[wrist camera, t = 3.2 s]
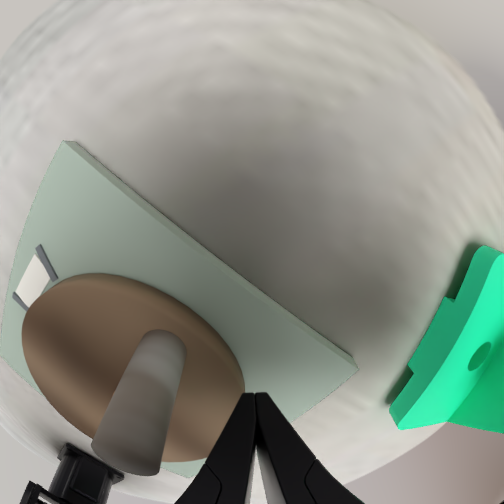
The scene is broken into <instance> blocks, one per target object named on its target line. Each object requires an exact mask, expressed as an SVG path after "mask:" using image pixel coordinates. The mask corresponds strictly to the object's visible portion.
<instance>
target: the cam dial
mask: <svg viewBox="0 0 504 504" xmlns="http://www.w3.org/2000/svg"><path fill="white" fill-rule="evenodd" d="M21 336H22V347H23V353H24V357H25V360H26V363H27V366H28V368H29V371H30V373H31V375H32V377H33V379H34V381H35V383H36V384H37V386H38V387H39V389H40V390H41V392H42V393H43V395H44V396H45V397H46V399H47V400H48V401H49V402H50V404H51V405H52V406H53V407H54V408H55V409H56V410H57V411H58V412H59V413H60V414H61V415H62V416H63V417H64V418H65V419H66V420H67V421H68V422H70V423H71V424H72V425H73V426H75V427H76V428H77V429H78V430H80V431H81V432H83V433H84V434H86V435H87V436H89V437H90V438H92V439H93V441H92V443H91V447H92V449H93V451H94V452H95V454H96V455H97V456H98V457H100V458H101V459H102V460H103V461H105V462H106V463H108V464H109V465H111V466H113V467H115V468H117V469H119V470H122V471H124V472H127V473H131V474H135V475H140V476H153V475H156V474H158V473H159V470H160V465H161V462H189V461H195V460H200V459H204V458H207V457H208V455H209V454H210V452H211V450H212V448H213V447H214V445H215V443H216V441H217V439H218V438H219V436H220V434H221V432H222V430H223V428H224V427H225V425H226V423H227V421H228V419H229V417H230V415H231V413H232V412H233V410H234V408H235V406H236V404H237V402H238V400H239V398H240V396H241V394H242V393H244V392H245V382H244V378H243V374H242V370H241V368H240V366H239V363H238V361H237V359H236V357H235V355H234V354H233V352H232V351H231V349H230V347H229V346H228V344H227V343H226V342H225V341H224V340H223V338H222V337H221V336H220V335H219V333H218V332H217V331H216V330H215V329H214V328H213V327H212V326H211V325H210V324H209V323H207V322H206V321H205V320H204V319H203V318H202V317H201V316H199V315H198V314H197V313H196V312H194V311H193V310H192V309H191V308H189V307H188V306H186V305H185V304H183V303H181V302H180V301H178V300H177V299H175V298H174V297H172V296H170V295H168V294H166V293H164V292H162V291H160V290H158V289H157V288H155V287H152V286H149V285H147V284H144V283H142V282H139V281H137V280H133V279H129V278H126V277H122V276H117V275H110V274H104V273H87V274H81V275H75V276H72V277H69V278H67V279H64V280H62V281H61V282H59V283H57V284H56V285H54V286H53V287H51V288H50V289H49V290H47V291H46V292H45V293H43V294H42V295H41V296H40V297H38V298H37V299H36V300H35V301H34V302H33V303H32V304H31V305H30V307H29V309H28V311H27V312H26V314H25V317H24V320H23V324H22V332H21Z"/></svg>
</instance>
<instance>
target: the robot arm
mask: <svg viewBox="0 0 504 504" xmlns="http://www.w3.org/2000/svg"><path fill="white" fill-rule="evenodd" d="M256 449H257V455H258V460H259V465H260V470H261V475H262V480H263V484H264V489H265V494H266V498H267V503H268V504H365V503H363V502H362V501H361V500H360V499H358V498H357V497H356V496H355V495H353V494H352V493H351V492H350V491H349V490H347V489H346V488H345V487H344V486H343V485H342V484H341V483H339V482H338V481H337V480H336V479H335V478H334V477H333V476H332V475H331V474H330V473H329V472H328V471H327V469H326V468H325V467H324V466H323V465H322V464H321V462H320V461H319V460H318V459H316V456H315V455H314V454H313V453H312V451H311V450H310V449H309V448H308V446H307V445H306V444H305V443H304V441H303V440H302V439H301V437H300V436H299V435H298V433H297V432H296V431H295V430H294V428H293V427H292V426H291V424H290V423H289V422H288V420H287V419H286V418H285V416H284V415H283V414H282V412H281V411H280V409H279V408H278V407H277V405H276V404H275V403H274V401H273V400H272V398H271V397H270V396H269V394H268V393H267V392H256V393H255V394H254V393H253V392H244V393H242V394H241V396H240V398H239V400H238V402H237V404H236V406H235V408H234V410H233V412H232V413H231V415H230V417H229V419H228V421H227V423H226V425H225V427H224V428H223V430H222V432H221V434H220V436H219V438H218V439H217V441H216V443H215V445H214V447H213V448H212V450H211V452H210V454H209V455H208V457H207V459H206V461H205V464H203V466H202V467H201V469H200V471H199V472H198V474H197V475H196V477H195V478H194V480H193V482H192V483H191V484H190V486H189V487H188V488H187V489H186V491H185V492H184V493H183V494H182V495H181V497H180V498H179V499H178V500H177V501H176V502H175V503H174V504H250V497H251V488H252V480H253V471H254V462H255V451H256ZM57 458H58V459H59V460H60V461H61V462H60V464H59V466H58V469H57V471H56V474H55V476H54V478H53V480H52V483H51V485H50V488H49V490H48V491H47V490H45V489H44V488H42V486H40V485H39V484H35V483H33V482H31V481H29V483H28V485H27V487H26V490H25V492H24V494H23V497H22V499H21V502H20V504H47V503H45V502H43V501H41V500H39V499H38V497H39V496H41V497H42V498H44V499H45V500H47V501H48V502H50V503H52V504H106V503H107V499H108V495H109V492H110V489H111V486H112V485H113V484H115V483H117V482H120V481H122V480H124V475H122V474H121V473H119V472H117V471H115V470H113V469H111V468H109V467H107V466H105V465H103V464H101V463H99V462H98V461H96V460H94V459H92V458H91V457H89V456H87V455H86V454H84V453H82V452H81V451H79V450H77V449H76V448H74V447H73V446H71V445H69V444H67V443H66V444H65V446H64V447H63V449H62V450H61V452H60V454H59V455H58V457H57ZM500 504H504V500H503V501H502V502H501V503H500Z"/></svg>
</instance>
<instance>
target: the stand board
mask: <svg viewBox="0 0 504 504" xmlns="http://www.w3.org/2000/svg"><path fill="white" fill-rule="evenodd" d="M87 273H104V274H110V275H117V276H122V277H126V278H129V279H133V280H137V281H139V282H142V283H144V284H147V285H149V286H152V287H155V288H157V289H158V290H160V291H162V292H164V293H166V294H168V295H170V296H172V297H174V298H175V299H177V300H178V301H180V302H181V303H183V304H185V305H186V306H188V307H189V308H191V309H192V310H193V311H194V312H196V313H197V314H198V315H199V316H201V317H202V318H203V319H204V320H205V321H206V322H207V323H209V324H210V325H211V326H212V327H213V328H214V329H215V330H216V331H217V332H218V333H219V335H220V336H221V337H222V338H223V340H224V341H225V342H226V343H227V344H228V346H229V347H230V349H231V351H232V352H233V354H234V355H235V357H236V359H237V361H238V363H239V366H240V368H241V370H242V374H243V378H244V382H245V392H253V393H254V394H255V393H256V392H267V393H268V394H269V396H270V397H271V398H272V400H273V401H274V403H275V404H276V405H277V407H278V408H279V409H280V411H281V412H282V414H283V415H284V416H285V418H286V419H287V420H288V422H289V423H291V422H292V421H294V420H295V419H297V418H298V417H299V416H301V415H302V414H304V413H305V412H307V411H308V410H309V409H311V408H312V407H313V406H315V405H316V404H317V403H319V402H320V401H321V400H323V399H324V398H325V397H327V396H328V395H329V394H330V393H332V392H333V391H334V390H335V389H337V388H338V387H339V386H340V385H342V384H343V383H344V382H345V381H346V380H348V379H349V378H350V377H351V376H352V375H353V374H355V373H356V372H357V371H358V370H359V368H358V366H357V364H356V363H355V361H354V359H353V358H352V357H351V356H350V355H348V354H347V353H345V352H344V351H343V350H341V349H340V348H338V347H337V346H336V345H334V344H333V343H331V342H330V341H329V340H327V339H326V338H324V337H323V336H322V335H320V334H319V333H317V332H316V331H315V330H313V329H312V328H311V327H309V326H308V325H306V324H305V323H304V322H302V321H301V320H300V319H298V318H297V317H295V316H294V315H293V314H291V313H290V312H289V311H287V310H286V309H285V308H283V307H282V306H281V305H279V304H278V303H277V302H275V301H274V300H272V299H271V298H270V297H268V296H267V295H266V294H264V293H263V292H262V291H260V290H259V289H258V288H256V287H255V286H254V285H253V284H251V283H250V282H249V281H247V280H246V279H245V278H243V277H242V276H241V275H239V274H238V273H237V272H235V271H234V270H233V269H231V268H230V267H229V266H228V265H226V264H225V263H224V262H222V261H221V260H220V259H219V258H217V257H216V256H215V255H213V254H212V253H211V252H209V251H208V250H207V249H206V248H204V247H203V246H202V245H201V244H199V243H198V242H197V241H195V240H194V239H193V238H192V237H190V236H189V235H188V234H187V233H185V232H184V231H183V230H181V229H180V228H179V227H178V226H176V225H175V224H174V223H173V222H171V221H170V220H169V219H168V218H166V217H165V216H164V215H163V214H161V213H160V212H159V211H158V210H156V209H155V208H154V207H153V206H152V205H150V204H149V203H148V202H147V201H145V200H144V199H143V198H142V197H140V196H139V195H138V194H137V193H136V192H134V191H133V190H132V189H131V188H129V187H128V186H127V185H126V184H125V183H123V182H122V181H121V180H120V179H119V178H117V177H116V176H115V175H114V174H113V173H111V172H110V171H109V170H108V169H107V168H105V167H104V166H103V165H102V164H101V163H99V162H98V161H97V160H96V159H95V158H94V157H92V156H91V155H90V154H89V153H88V152H87V151H85V150H84V149H83V148H82V147H81V146H80V145H78V144H77V143H76V142H73V141H62V143H61V144H60V146H59V148H58V150H57V152H56V154H55V156H54V158H53V160H52V161H51V163H50V165H49V168H48V170H47V172H46V174H45V176H44V178H43V180H42V183H41V185H40V187H39V189H38V192H37V194H36V196H35V199H34V201H33V204H32V206H31V209H30V212H29V214H28V217H27V220H26V223H25V226H24V229H23V232H22V235H21V238H20V241H19V245H18V248H17V251H16V255H15V259H14V263H13V267H12V271H11V275H10V279H9V284H8V289H7V294H6V300H5V306H4V312H3V320H2V328H1V338H0V356H1V357H2V358H3V359H4V360H5V361H6V362H7V363H8V364H9V365H10V366H11V367H12V368H13V369H14V370H15V371H16V372H17V373H18V374H19V375H20V376H21V377H22V378H23V379H24V380H25V381H26V382H27V383H28V384H30V385H31V386H32V387H33V388H34V389H35V390H36V391H38V392H39V393H40V394H41V395H42V396H44V395H43V393H42V392H41V390H40V389H39V387H38V386H37V384H36V383H35V381H34V379H33V377H32V375H31V373H30V371H29V368H28V366H27V363H26V360H25V357H24V353H23V347H22V336H21V332H22V324H23V320H24V317H25V314H26V312H27V311H28V309H29V307H30V305H31V304H32V303H33V302H34V301H35V300H36V299H37V298H38V297H40V296H41V295H42V294H43V293H45V292H46V291H47V290H49V289H50V288H51V287H53V286H54V285H56V284H57V283H59V282H61V281H62V280H64V279H67V278H69V277H72V276H75V275H81V274H87ZM44 397H45V396H44ZM45 398H46V397H45ZM206 459H207V458H204V459H200V460H195V461H189V462H161V465H160V467H161V468H163V469H166V470H168V471H171V472H173V473H176V474H178V475H181V476H184V477H186V478H190V477H192V476H195V475H197V474H198V472H199V471H200V469H201V467H202V466H203V464H205V461H206Z"/></svg>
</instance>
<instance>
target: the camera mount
mask: <svg viewBox="0 0 504 504" xmlns="http://www.w3.org/2000/svg"><path fill="white" fill-rule="evenodd" d="M407 365H408V366H409V367H410V369H411V370H412V371H413V373H414V374H413V376H412V377H411V378H410V380H409V381H408V383H407V384H406V386H405V387H404V388H403V390H402V391H401V393H400V394H399V395H398V397H397V398H396V399H395V401H394V402H393V403H392V405H391V406H390V408H389V412H390V414H391V416H392V418H393V420H394V422H395V424H396V425H397V427H398V429H399V430H405V429H412V428H417V427H423V426H428V425H433V424H438V423H442V422H451V423H455V424H459V425H463V426H468V427H472V428H477V429H482V430H487V431H493V432H499V433H504V253H502V252H499V251H497V250H495V249H493V248H491V247H488V246H486V245H484V246H481V247H480V248H479V249H478V250H477V251H476V252H475V254H474V256H473V258H472V260H471V263H470V266H469V268H468V271H467V273H466V276H465V278H464V281H463V283H462V286H461V288H460V290H459V292H458V295H457V297H456V299H451V298H448V297H445V296H444V298H443V300H442V302H441V304H440V307H439V309H438V311H437V313H436V315H435V317H434V319H433V321H432V322H431V324H430V326H429V328H428V330H427V332H426V334H425V335H424V337H423V339H422V341H421V343H420V344H419V346H418V348H417V349H416V351H415V353H414V354H413V356H412V358H411V359H410V361H409V363H408V364H407Z"/></svg>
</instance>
